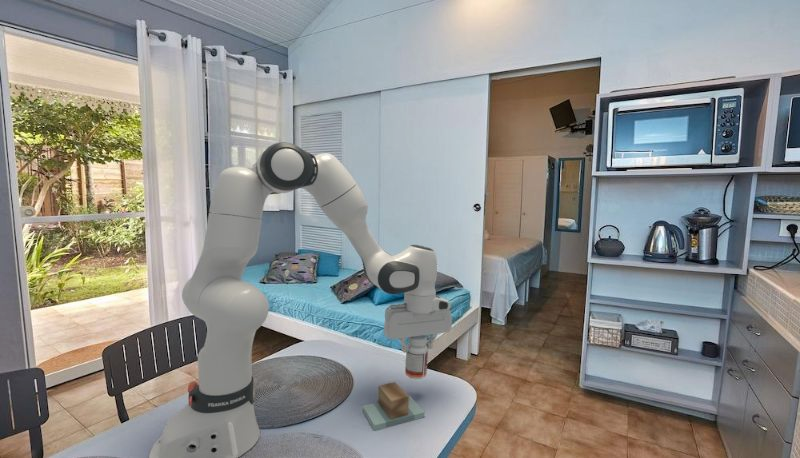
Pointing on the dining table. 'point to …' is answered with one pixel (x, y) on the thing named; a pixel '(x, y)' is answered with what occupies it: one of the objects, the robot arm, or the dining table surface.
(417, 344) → the pill bottle
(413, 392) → the dining table surface
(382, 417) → the plate
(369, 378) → the dining table surface
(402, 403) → the walnut block
